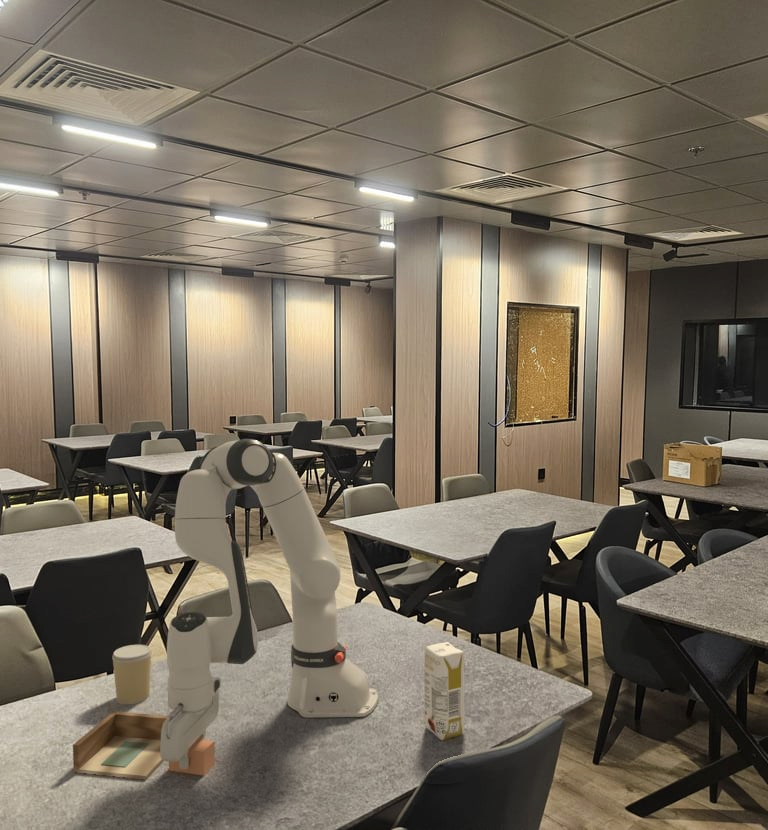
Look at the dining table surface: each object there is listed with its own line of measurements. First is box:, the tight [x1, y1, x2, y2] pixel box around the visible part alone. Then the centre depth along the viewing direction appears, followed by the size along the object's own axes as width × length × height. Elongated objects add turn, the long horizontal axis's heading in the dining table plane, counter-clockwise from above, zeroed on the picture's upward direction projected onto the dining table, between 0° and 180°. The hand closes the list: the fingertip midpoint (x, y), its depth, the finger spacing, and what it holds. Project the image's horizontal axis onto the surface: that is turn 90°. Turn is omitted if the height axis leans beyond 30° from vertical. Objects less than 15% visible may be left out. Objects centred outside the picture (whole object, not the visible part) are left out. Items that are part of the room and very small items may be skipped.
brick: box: [168, 738, 216, 776], centre depth 149 cm, size 8×4×5 cm, turn 76°
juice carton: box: [424, 641, 466, 741], centre depth 164 cm, size 8×9×19 cm
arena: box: [72, 710, 168, 781], centre depth 153 cm, size 16×15×6 cm
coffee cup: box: [111, 644, 152, 705], centre depth 182 cm, size 9×9×12 cm
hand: (191, 759), depth 149 cm, fingers closed on brick, 5 cm apart
